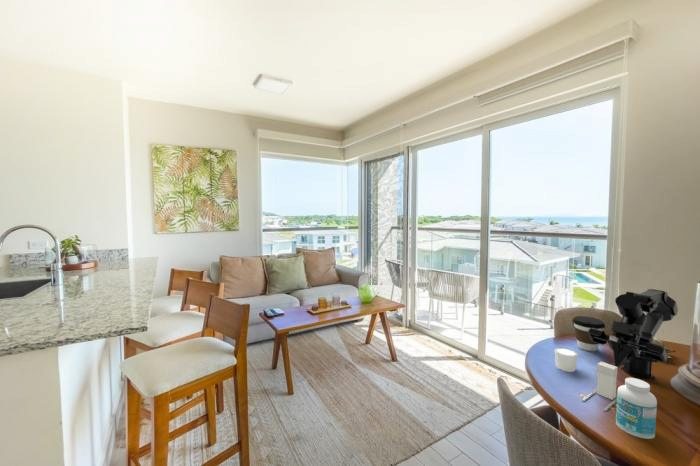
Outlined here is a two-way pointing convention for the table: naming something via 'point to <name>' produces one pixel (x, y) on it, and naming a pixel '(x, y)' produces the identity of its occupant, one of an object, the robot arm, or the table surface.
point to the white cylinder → (566, 359)
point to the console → (606, 406)
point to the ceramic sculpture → (659, 342)
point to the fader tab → (606, 380)
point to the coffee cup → (586, 331)
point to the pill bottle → (636, 409)
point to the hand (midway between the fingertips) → (616, 366)
